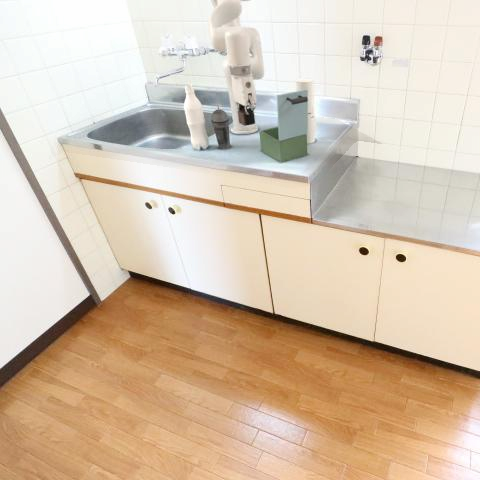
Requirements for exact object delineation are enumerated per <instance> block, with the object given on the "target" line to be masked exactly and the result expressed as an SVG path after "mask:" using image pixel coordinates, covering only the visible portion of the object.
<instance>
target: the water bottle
mask: <svg viewBox="0 0 480 480" xmlns="http://www.w3.org/2000/svg"><path fill="white" fill-rule="evenodd" d="M184 89H185V90H184V93H185V99H184V103H183V110H184V114H185V118H186V119H185V120H186V124H187V126H188V129H189V133H190V144H191V145H192V147H193V148H194V149H195V150H197V151H200V150H201V148H202V150H207V148H208V147H209V144H210V139H209V135H208V133H207V129H206V119H205V115H204V110H203V105H202V103H201V101H200V100H199V98H198V97H197V96H196V93H195V89H194V86H193V84H186V85H184Z"/></svg>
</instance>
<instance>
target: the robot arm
mask: <svg viewBox="0 0 480 480" xmlns="http://www.w3.org/2000/svg"><path fill="white" fill-rule="evenodd" d="M250 1H251V0H210V2H211V4H212V6H213V10H212V11H211V13H210V14H209V17H208V23H207V25H208V32H209V33H208V34H209V40H210V44H211V47H212V48H213V50H214V51H216V52H219V53H224V52H226V54H227V57H226V58H225V59H224V60H223V61H222V71H223V74H224V78H225V82H226V87H227V91H228V97H229V104H230V109H231V117H232V125H233V126H232V127H231V128H230V132H231V133H232V134H235V135H250V134H253V133H256V132H258V131H259V127H258V125H256V121H255V122H254V116H255V109H256V105H257V104H258V99H257V93H256V87H255V81H256V80H261V79H263V78H264V76H265V64H264V56H263V49H262V42H261V37H260V34H259V33H260V32H259V31H258V30H257V29H256V28H255V27H246V26H241V20H240V16H241V14H242V11H243V5H242V2H250ZM254 80H255V81H254ZM244 109H245V112H246V114H245V119H246V125H247V126H244V125H242V124H240V123H239V118H238V111H239V110H244ZM253 113H254V114H253ZM254 123H255V124H254Z"/></svg>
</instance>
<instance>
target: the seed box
mask: <svg viewBox="0 0 480 480" xmlns="http://www.w3.org/2000/svg"><path fill="white" fill-rule="evenodd" d="M258 134H259V141H260V151H261V152H263V153H264V154H266V155H268V156H270V157H271V158H273V159H274V160H276V161H278V162H280V163H283V162H287V161H290V160H294V159H297V158H301V157H305V156H307V155H308V153H309V152H308V144H307V134H304V135H300V136H296V137H292V138H288V139H284V140H281V141H280V140H279V133H278V126H274V127H270V128H266V129H261V130H258Z"/></svg>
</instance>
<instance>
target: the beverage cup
mask: <svg viewBox="0 0 480 480" xmlns="http://www.w3.org/2000/svg"><path fill="white" fill-rule="evenodd" d="M215 100H216V106H217V109H215V110H214V111H213V112H211V115H210V122H211V125H212V126H213V131H214V134H215V138H216V142H217V145H218V148H219V150H227V149H230V148H231V139H230V126H229V125H230V118H229V114H228V113H227V112H226V111H225V110H223V109H220V105H219V99H218V98H216V99H215Z"/></svg>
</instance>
